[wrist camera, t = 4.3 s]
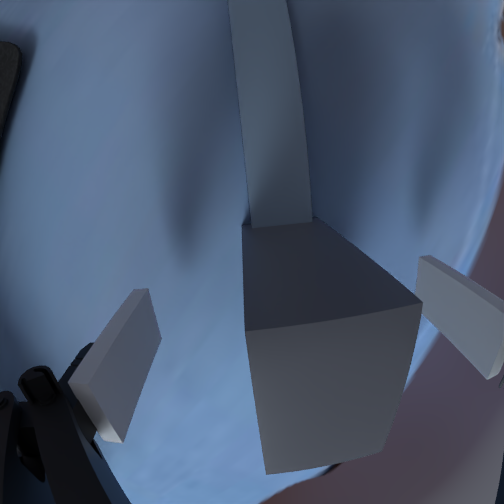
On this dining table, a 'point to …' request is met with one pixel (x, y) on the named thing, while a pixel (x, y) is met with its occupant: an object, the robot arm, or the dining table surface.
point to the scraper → (308, 278)
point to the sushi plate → (8, 77)
